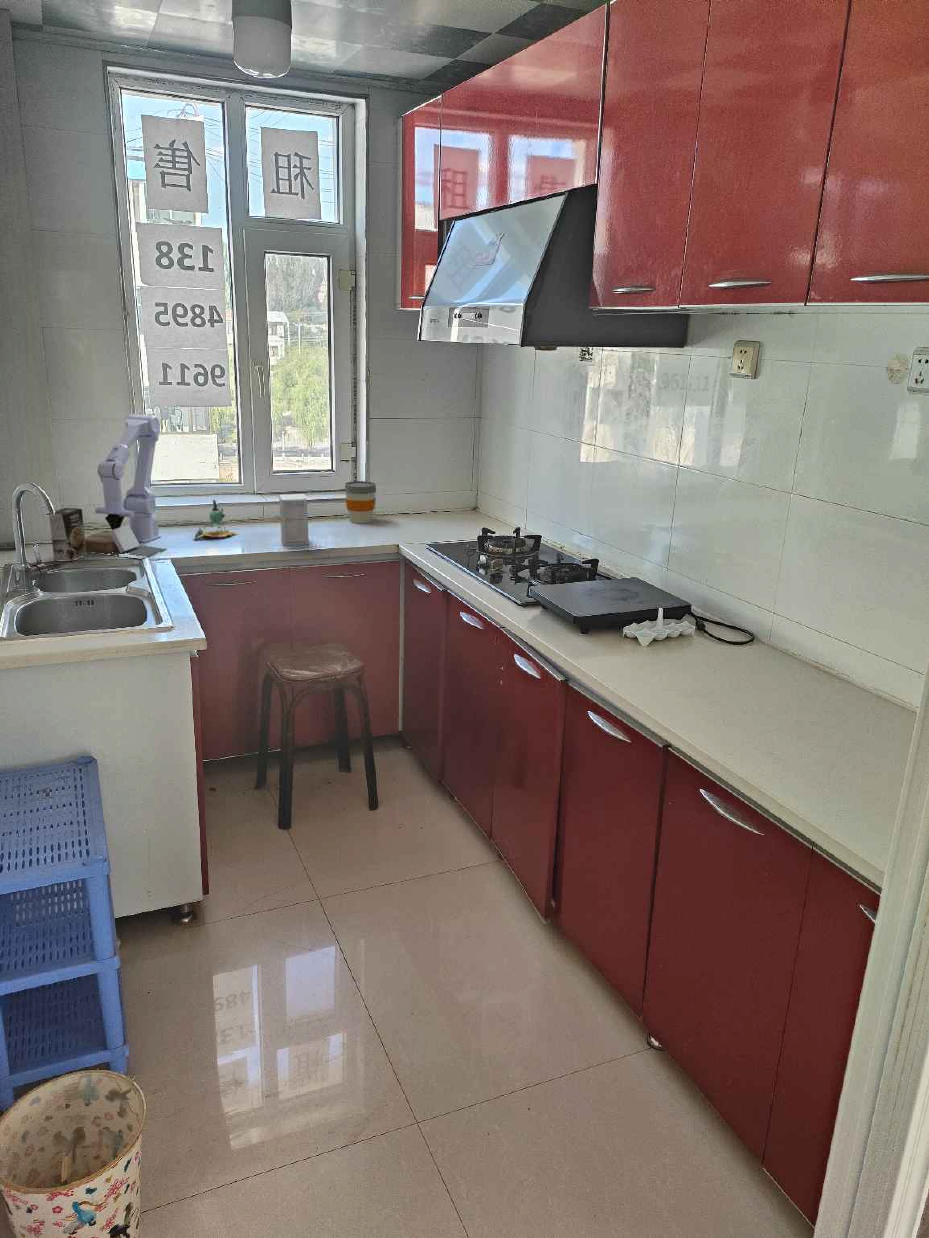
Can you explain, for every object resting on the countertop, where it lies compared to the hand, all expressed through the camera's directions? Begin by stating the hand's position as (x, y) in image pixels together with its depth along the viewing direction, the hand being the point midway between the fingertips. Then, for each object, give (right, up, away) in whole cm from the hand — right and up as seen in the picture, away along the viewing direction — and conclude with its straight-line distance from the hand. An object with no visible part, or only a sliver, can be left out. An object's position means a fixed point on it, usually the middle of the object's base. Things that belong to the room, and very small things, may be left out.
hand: (116, 536), depth 303 cm
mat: (+7, -6, -1) cm, 9 cm away
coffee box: (-11, -8, -10) cm, 17 cm away
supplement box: (+57, 0, +20) cm, 61 cm away
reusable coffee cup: (+77, +11, +54) cm, 95 cm away
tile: (+2, -1, 0) cm, 3 cm away
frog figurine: (+27, +2, +23) cm, 36 cm away
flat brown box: (-5, -4, +3) cm, 7 cm away
